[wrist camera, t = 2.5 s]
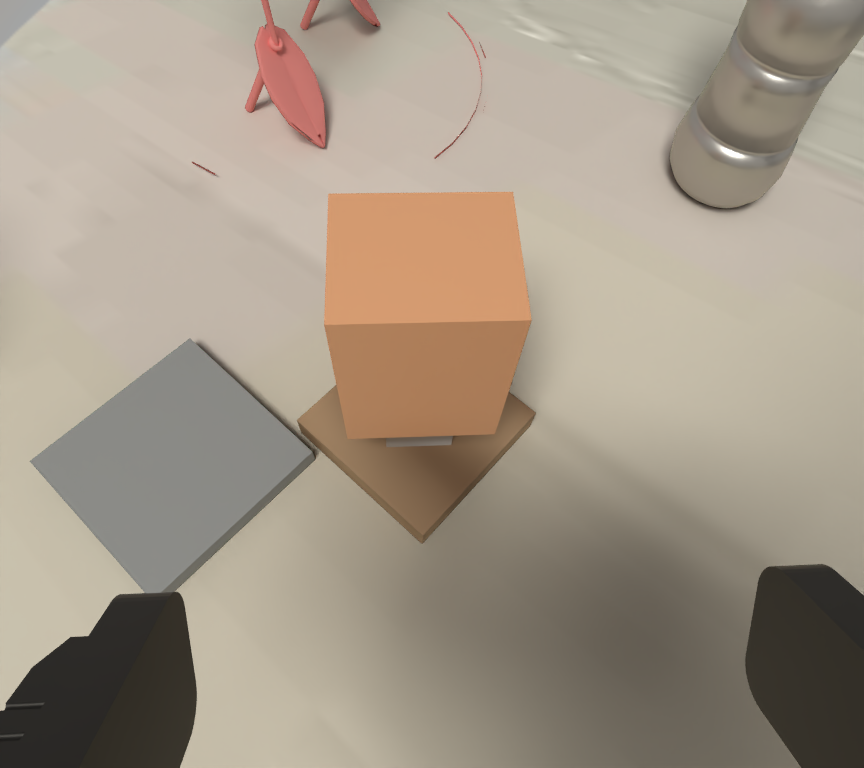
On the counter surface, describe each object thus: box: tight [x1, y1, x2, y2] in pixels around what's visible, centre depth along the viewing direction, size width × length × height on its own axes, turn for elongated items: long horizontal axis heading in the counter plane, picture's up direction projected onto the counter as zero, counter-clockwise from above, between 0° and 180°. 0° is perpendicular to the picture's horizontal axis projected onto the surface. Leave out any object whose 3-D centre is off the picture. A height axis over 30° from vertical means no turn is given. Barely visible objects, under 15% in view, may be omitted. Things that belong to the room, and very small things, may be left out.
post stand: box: [297, 385, 536, 543], centre depth 26 cm, size 11×11×12 cm
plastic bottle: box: [670, 0, 864, 208], centre depth 31 cm, size 6×7×20 cm
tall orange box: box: [324, 192, 532, 439], centre depth 23 cm, size 5×6×8 cm
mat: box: [30, 339, 315, 593], centre depth 30 cm, size 9×9×1 cm
